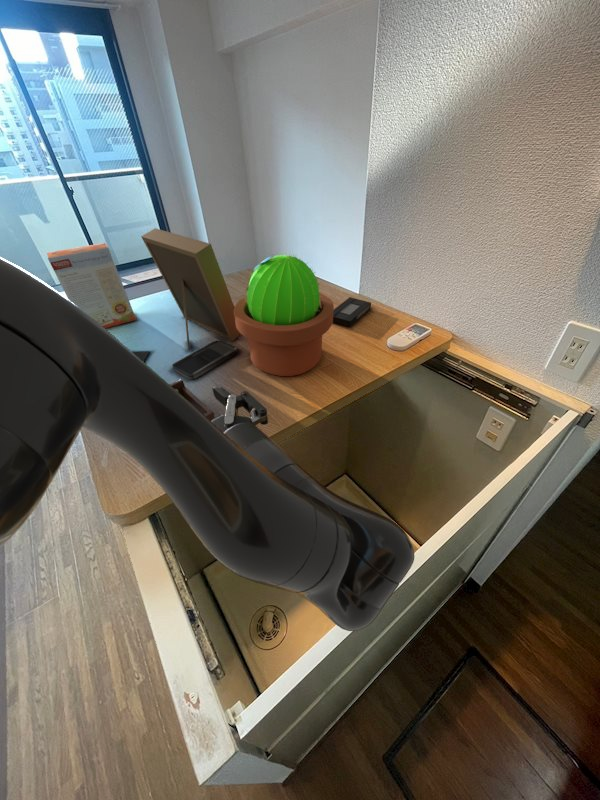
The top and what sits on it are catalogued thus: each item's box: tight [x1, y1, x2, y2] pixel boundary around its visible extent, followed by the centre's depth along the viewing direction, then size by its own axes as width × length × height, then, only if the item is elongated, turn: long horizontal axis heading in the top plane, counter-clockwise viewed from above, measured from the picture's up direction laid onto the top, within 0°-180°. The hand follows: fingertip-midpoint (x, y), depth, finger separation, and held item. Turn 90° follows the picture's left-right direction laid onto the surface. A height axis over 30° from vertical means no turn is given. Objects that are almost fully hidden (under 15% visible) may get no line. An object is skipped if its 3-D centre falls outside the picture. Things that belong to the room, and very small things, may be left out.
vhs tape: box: [332, 297, 372, 328], centre depth 98 cm, size 8×14×2 cm, turn 146°
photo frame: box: [140, 227, 242, 351], centre depth 83 cm, size 15×22×25 cm
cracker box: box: [46, 242, 137, 329], centre depth 90 cm, size 14×6×21 cm, turn 123°
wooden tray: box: [168, 378, 216, 421], centre depth 62 cm, size 12×11×6 cm
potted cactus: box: [234, 252, 335, 377], centre depth 74 cm, size 22×22×25 cm
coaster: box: [132, 350, 151, 363], centre depth 81 cm, size 9×9×1 cm
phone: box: [172, 339, 238, 380], centre depth 81 cm, size 8×1×15 cm
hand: (190, 403), depth 49 cm, fingers open, 8 cm apart
